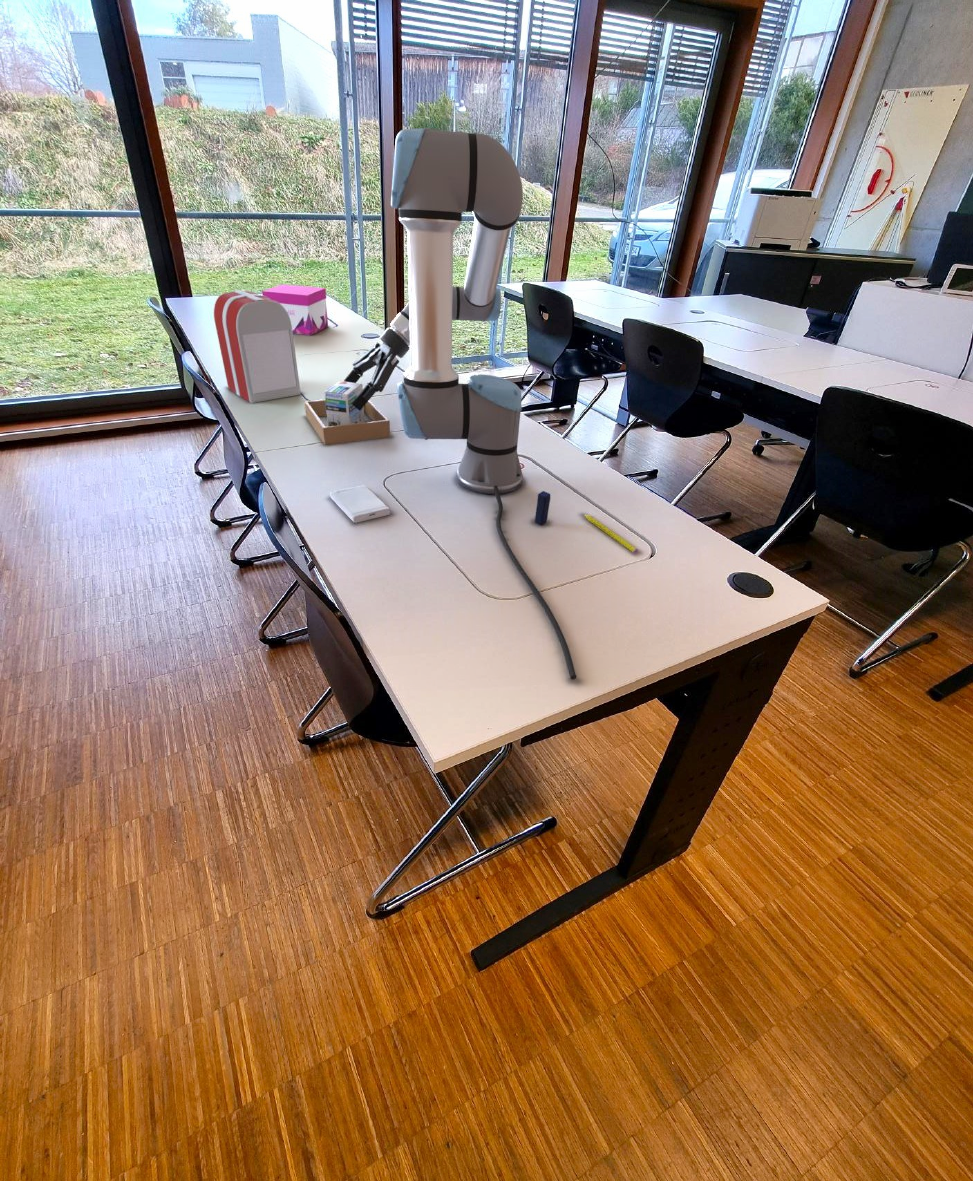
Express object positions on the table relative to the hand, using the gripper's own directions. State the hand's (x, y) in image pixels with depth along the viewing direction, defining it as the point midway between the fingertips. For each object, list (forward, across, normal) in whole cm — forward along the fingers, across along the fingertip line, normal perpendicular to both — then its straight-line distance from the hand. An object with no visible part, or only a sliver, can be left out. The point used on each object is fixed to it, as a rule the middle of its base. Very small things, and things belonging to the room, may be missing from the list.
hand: (348, 399), depth 157 cm
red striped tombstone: (+18, +37, +6) cm, 42 cm away
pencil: (-18, -75, -29) cm, 83 cm away
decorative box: (-1, +118, -13) cm, 119 cm away
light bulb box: (+6, 0, -5) cm, 8 cm away
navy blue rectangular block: (-11, -66, -21) cm, 70 cm away
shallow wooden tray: (+6, 0, -4) cm, 8 cm away
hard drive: (+13, -46, +2) cm, 48 cm away
